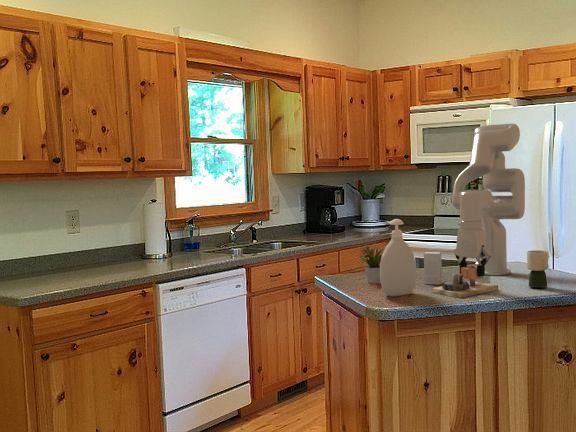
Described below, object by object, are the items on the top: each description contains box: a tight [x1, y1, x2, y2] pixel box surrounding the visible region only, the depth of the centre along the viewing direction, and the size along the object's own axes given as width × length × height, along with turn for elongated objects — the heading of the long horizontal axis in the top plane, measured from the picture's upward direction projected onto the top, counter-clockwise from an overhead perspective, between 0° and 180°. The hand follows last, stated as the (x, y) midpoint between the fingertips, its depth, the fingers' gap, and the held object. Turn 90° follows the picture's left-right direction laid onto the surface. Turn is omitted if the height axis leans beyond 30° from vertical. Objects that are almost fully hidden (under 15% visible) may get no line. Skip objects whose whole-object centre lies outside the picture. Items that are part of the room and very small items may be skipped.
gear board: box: [430, 265, 499, 299], centre depth 210 cm, size 13×20×8 cm, turn 122°
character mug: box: [526, 249, 550, 289], centre depth 210 cm, size 11×7×13 cm, turn 8°
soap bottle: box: [379, 218, 417, 298], centre depth 208 cm, size 14×8×27 cm, turn 113°
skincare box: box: [423, 251, 443, 286], centre depth 225 cm, size 6×4×12 cm
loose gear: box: [460, 265, 484, 280], centre depth 212 cm, size 7×7×4 cm
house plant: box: [356, 243, 386, 284], centre depth 233 cm, size 14×14×16 cm
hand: (472, 274), depth 212 cm, fingers closed on loose gear, 7 cm apart
